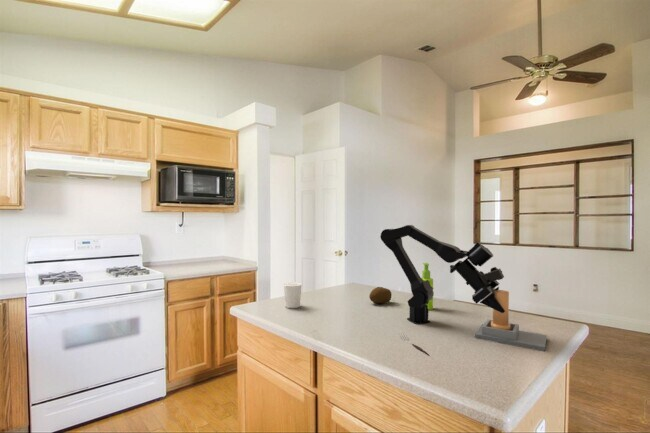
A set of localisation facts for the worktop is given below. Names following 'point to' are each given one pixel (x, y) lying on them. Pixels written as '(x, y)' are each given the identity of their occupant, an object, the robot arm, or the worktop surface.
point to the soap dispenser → (427, 277)
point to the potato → (380, 295)
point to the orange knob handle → (500, 318)
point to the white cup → (292, 295)
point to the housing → (511, 336)
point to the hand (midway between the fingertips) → (505, 310)
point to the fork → (413, 344)
